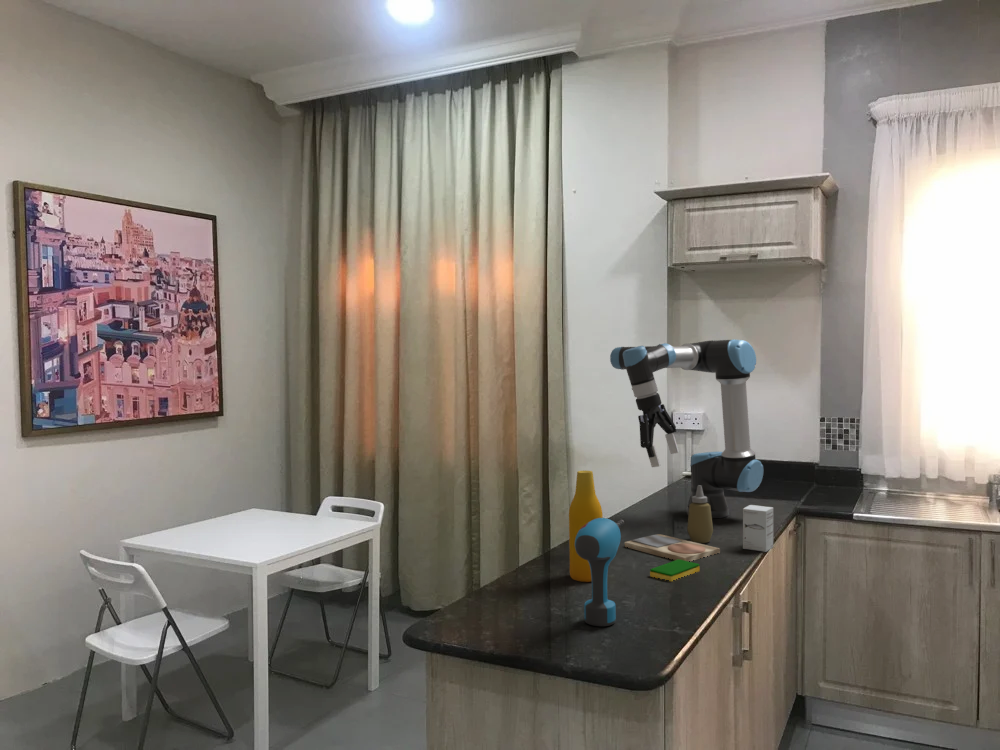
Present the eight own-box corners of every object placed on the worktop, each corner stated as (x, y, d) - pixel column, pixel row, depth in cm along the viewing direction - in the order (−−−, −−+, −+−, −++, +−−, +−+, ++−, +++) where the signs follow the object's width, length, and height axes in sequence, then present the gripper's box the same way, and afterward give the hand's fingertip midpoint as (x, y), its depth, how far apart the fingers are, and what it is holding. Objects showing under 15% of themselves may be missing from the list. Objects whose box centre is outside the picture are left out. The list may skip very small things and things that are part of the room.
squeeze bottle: (714, 539, 247) (713, 483, 246) (712, 545, 239) (711, 488, 238) (688, 537, 249) (687, 482, 249) (686, 543, 242) (685, 487, 241)
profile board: (659, 538, 249) (659, 533, 249) (719, 553, 230) (719, 547, 229) (624, 546, 239) (624, 541, 239) (684, 562, 220) (684, 556, 220)
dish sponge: (649, 577, 208) (649, 569, 208) (678, 567, 217) (678, 558, 217) (671, 583, 203) (671, 574, 203) (700, 572, 212) (700, 563, 212)
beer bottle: (610, 578, 207) (609, 472, 206) (583, 584, 202) (582, 475, 201) (589, 570, 215) (587, 467, 214) (562, 576, 210) (561, 471, 209)
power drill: (606, 595, 192) (605, 503, 192) (640, 599, 189) (639, 506, 188) (567, 633, 167) (565, 528, 166) (605, 639, 163) (603, 531, 163)
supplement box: (742, 549, 234) (741, 508, 233) (750, 544, 240) (750, 504, 239) (766, 552, 229) (766, 511, 229) (774, 547, 235) (773, 506, 235)
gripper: (653, 388, 251) (672, 449, 252) (617, 407, 232) (637, 473, 233) (674, 383, 246) (692, 446, 247) (638, 403, 227) (658, 470, 228)
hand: (665, 459), depth 240 cm, fingers open, 13 cm apart
